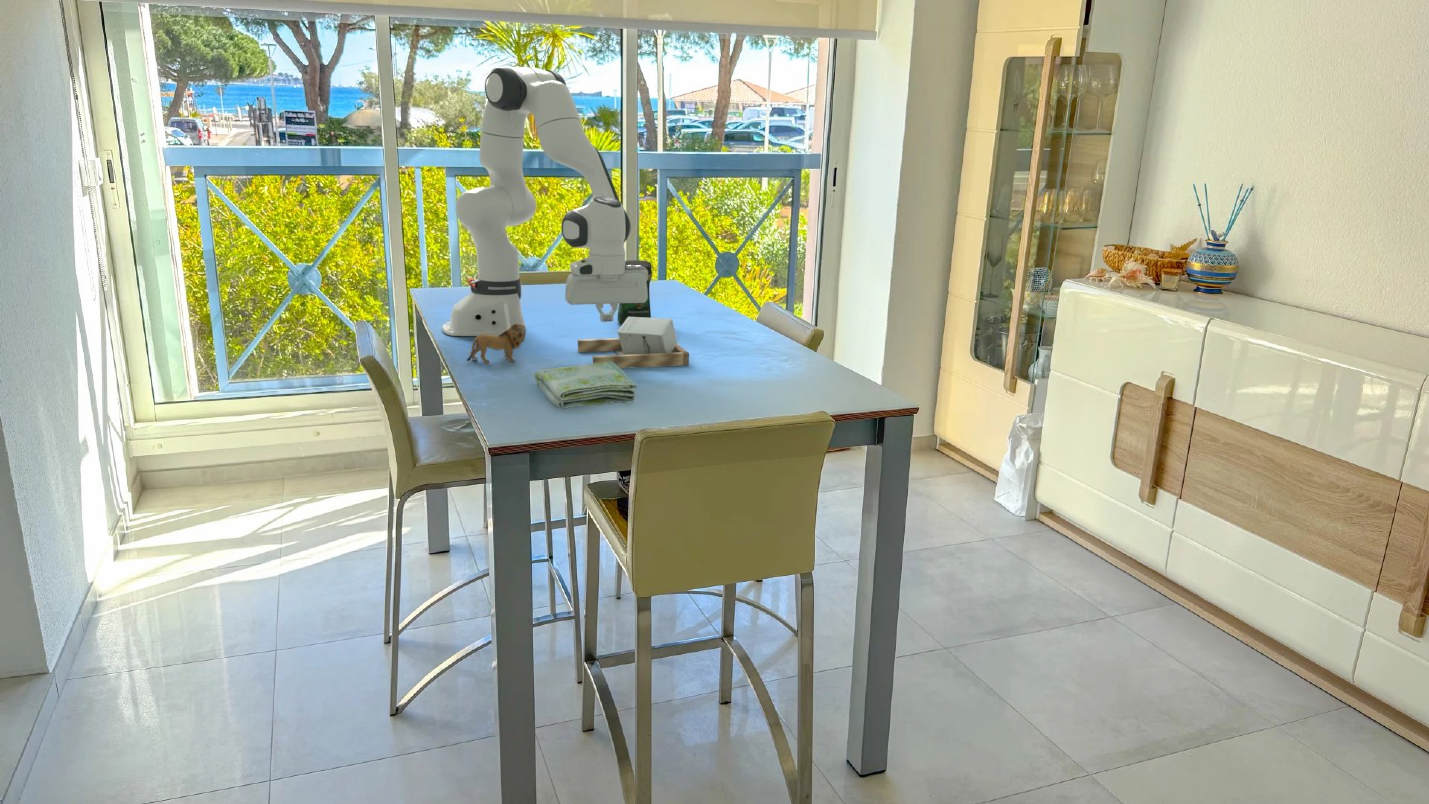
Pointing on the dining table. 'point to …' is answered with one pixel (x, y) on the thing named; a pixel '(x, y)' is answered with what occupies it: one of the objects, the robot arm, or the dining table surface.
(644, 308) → the coffee jar
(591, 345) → the corral
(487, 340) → the lion figurine
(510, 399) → the dining table surface
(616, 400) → the towel
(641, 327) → the supplement box
